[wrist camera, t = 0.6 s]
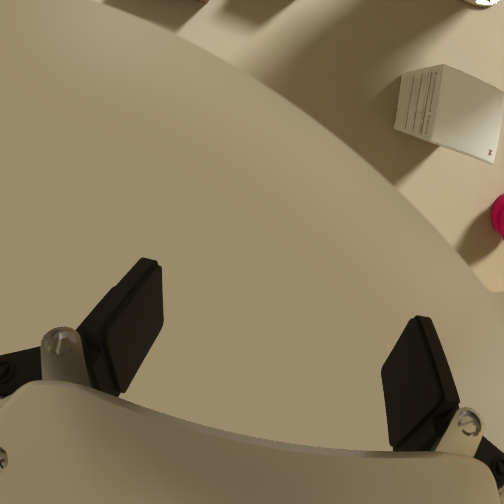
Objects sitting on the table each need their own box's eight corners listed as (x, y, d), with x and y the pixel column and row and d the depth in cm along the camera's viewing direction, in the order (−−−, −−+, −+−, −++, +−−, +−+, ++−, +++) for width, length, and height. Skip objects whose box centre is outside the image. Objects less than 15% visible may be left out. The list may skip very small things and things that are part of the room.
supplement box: (452, 91, 27) (508, 93, 16) (442, 145, 31) (494, 168, 20) (400, 71, 28) (443, 61, 17) (390, 128, 32) (429, 143, 21)
